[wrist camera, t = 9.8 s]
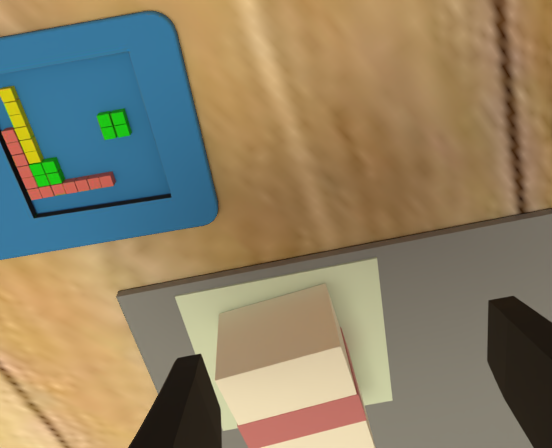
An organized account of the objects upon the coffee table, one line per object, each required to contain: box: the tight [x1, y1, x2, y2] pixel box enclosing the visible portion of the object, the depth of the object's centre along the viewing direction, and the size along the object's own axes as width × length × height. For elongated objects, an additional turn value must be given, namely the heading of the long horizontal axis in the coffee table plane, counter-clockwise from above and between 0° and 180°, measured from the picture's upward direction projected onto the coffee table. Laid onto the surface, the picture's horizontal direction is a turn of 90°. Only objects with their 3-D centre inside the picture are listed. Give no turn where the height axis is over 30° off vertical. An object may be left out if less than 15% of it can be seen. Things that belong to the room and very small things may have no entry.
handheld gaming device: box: [0, 11, 218, 260], centre depth 19 cm, size 8×1×15 cm
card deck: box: [215, 283, 376, 448], centre depth 23 cm, size 7×5×4 cm
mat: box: [116, 209, 552, 448], centre depth 26 cm, size 20×16×1 cm
